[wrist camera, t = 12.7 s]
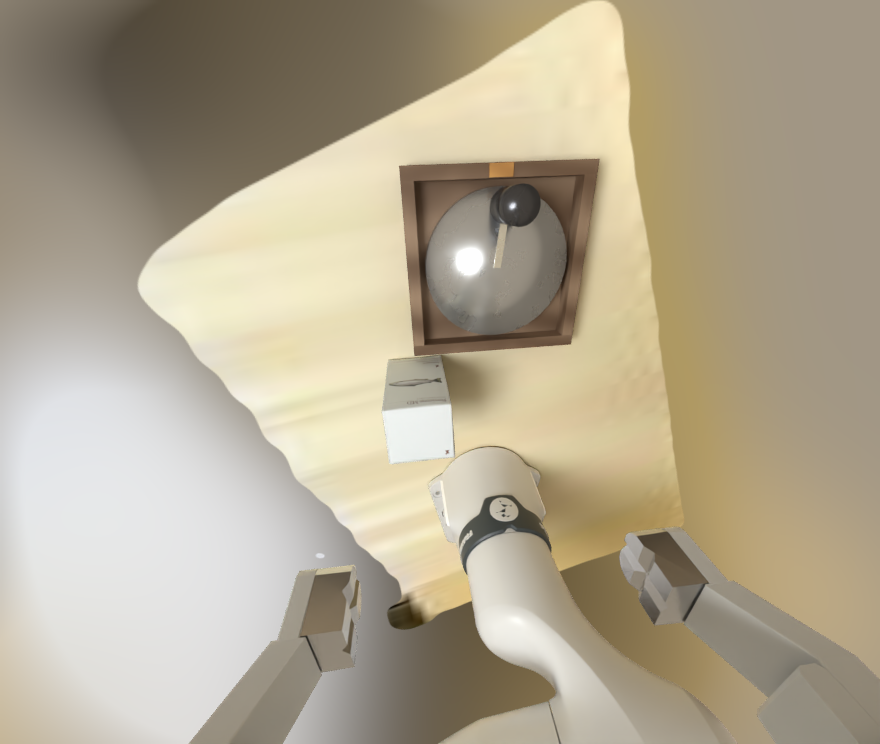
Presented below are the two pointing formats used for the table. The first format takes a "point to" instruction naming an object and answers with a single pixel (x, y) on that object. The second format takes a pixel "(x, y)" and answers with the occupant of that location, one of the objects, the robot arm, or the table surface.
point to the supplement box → (417, 411)
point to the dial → (496, 259)
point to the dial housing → (445, 184)
